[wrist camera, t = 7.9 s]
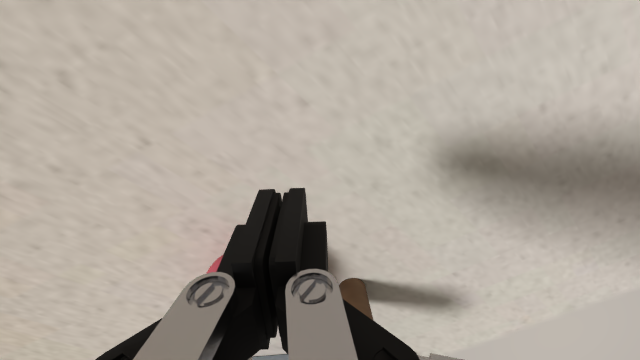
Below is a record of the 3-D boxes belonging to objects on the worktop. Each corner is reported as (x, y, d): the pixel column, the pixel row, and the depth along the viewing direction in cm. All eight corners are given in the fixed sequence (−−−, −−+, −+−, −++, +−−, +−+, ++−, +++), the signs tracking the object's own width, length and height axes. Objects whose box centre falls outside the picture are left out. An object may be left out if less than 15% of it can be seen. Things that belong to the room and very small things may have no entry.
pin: (366, 276, 27) (390, 375, 19) (365, 298, 28) (388, 399, 20) (337, 278, 27) (350, 378, 19) (338, 300, 28) (350, 402, 20)
